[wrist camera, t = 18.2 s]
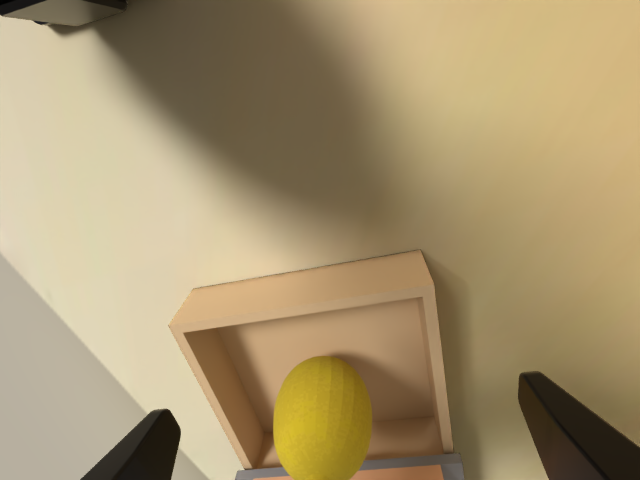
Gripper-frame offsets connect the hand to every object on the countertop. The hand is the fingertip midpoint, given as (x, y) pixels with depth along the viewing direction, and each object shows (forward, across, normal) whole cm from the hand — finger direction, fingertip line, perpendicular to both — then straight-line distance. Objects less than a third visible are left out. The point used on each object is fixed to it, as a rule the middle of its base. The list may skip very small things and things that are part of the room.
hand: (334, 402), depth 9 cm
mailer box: (+12, +3, +10) cm, 15 cm away
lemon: (+11, +3, +10) cm, 15 cm away
